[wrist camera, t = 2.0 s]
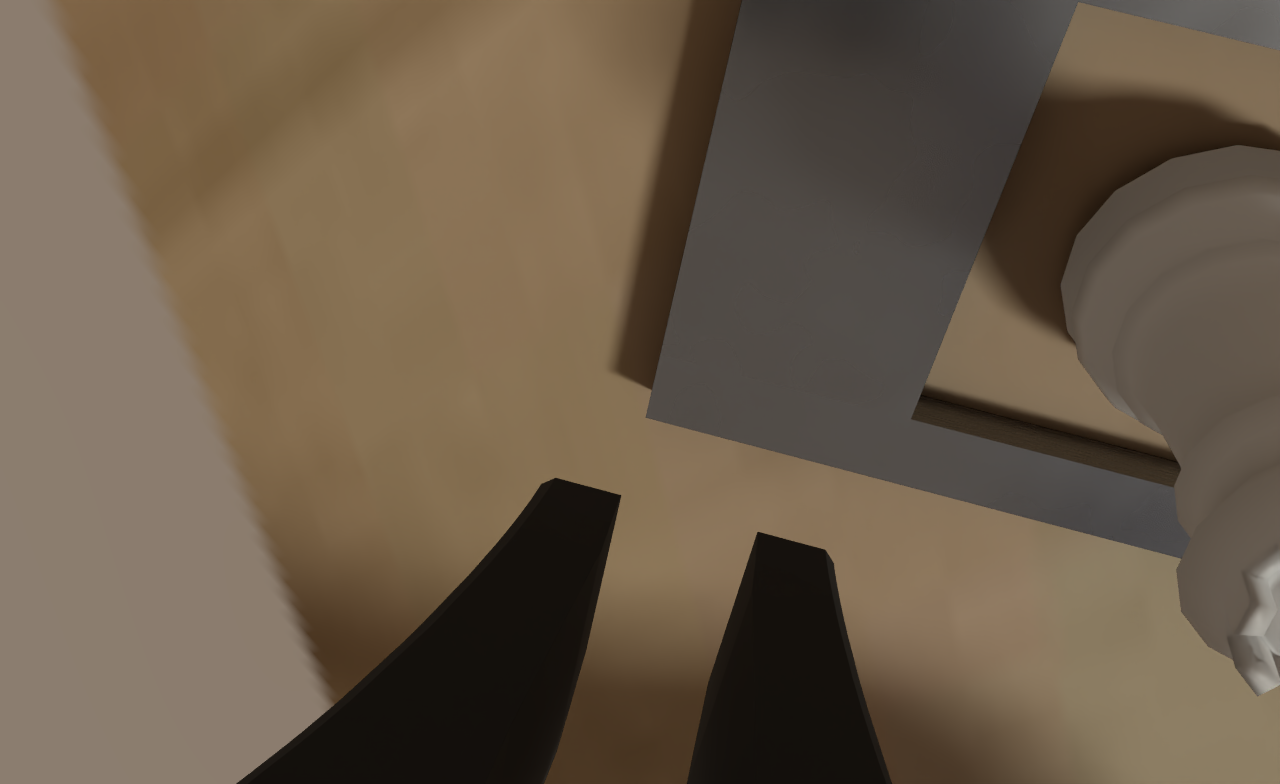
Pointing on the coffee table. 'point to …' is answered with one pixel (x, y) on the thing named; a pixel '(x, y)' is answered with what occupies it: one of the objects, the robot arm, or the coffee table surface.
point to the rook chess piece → (1199, 371)
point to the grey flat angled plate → (887, 250)
